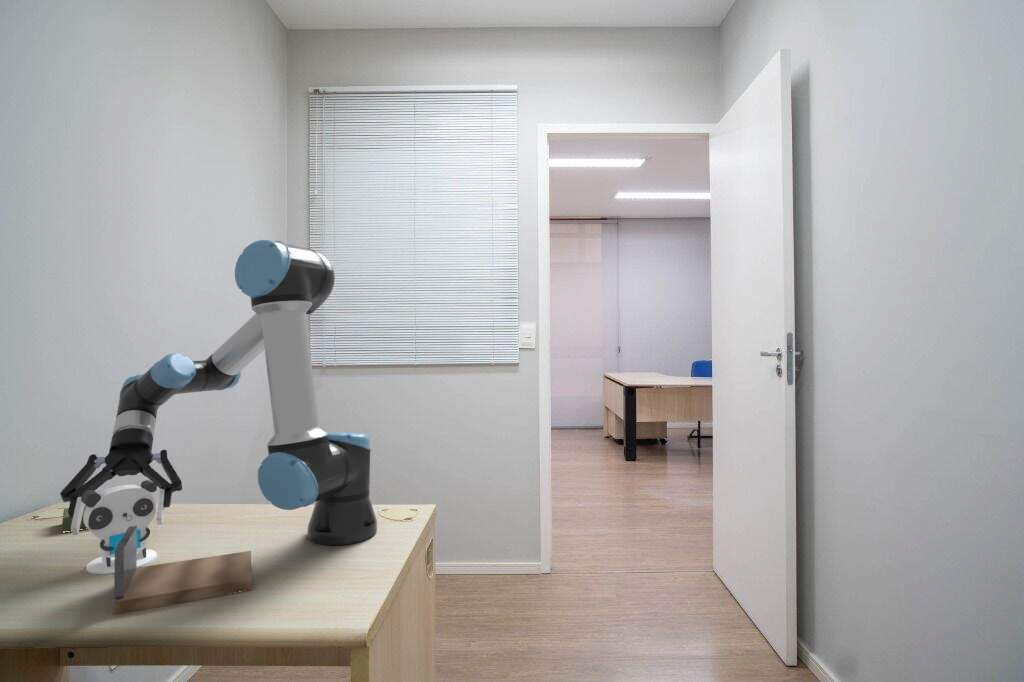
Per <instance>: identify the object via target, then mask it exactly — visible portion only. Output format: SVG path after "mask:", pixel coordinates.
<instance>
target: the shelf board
mask: <svg viewBox="0 0 1024 682" xmlns="http://www.w3.org/2000/svg"><path fill="white" fill-rule="evenodd" d="M252 568H253V567H252V550H248V551H247V550H246V551H239V552H234V553H228V554H227V553H226V554H220V555H213V556H206V557H205V556H204V557H200V558H199V557H198V558H193V559H185V560H178V561H173V562H165V563H159V564H152V565H145V566H142V567H138V568H137V569H136V572H135V574H134V576H133V578H132V580H131V583H130V585H129V587H128V589H127V591H126V593H125V596H124V598H121V599H115V600H113V602H112V616H113V615H120V614H124V613H125V614H126V613H130V612H136V611H140V610H141V611H142V610H147V609H152V608H153V609H154V608H159V607H160V608H161V607H164V606H165V607H166V606H170V605H174V604H175V605H177V604H182V603H186V602H192V601H198V600H203V599H204V598H205V599H210V598H215V597H214V596H216V597H220V596H219V595H222V596H226V595H225V594H227V595H230V594H229V593H233V594H235V593H234V592H239V591H244V590H250V591H252V590H253V576H252V575H253V573H252V572H253V571H252ZM251 589H252V590H251ZM244 592H245V591H244ZM239 593H240V592H239ZM209 597H210V598H209ZM205 599H204V600H205Z"/></svg>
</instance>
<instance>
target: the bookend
mask: <svg viewBox="0 0 1024 682" xmlns="http://www.w3.org/2000/svg"><path fill="white" fill-rule="evenodd" d="M136 569H137V526H131V527H128V529H127V531H126V532H125V534H124V536H123V537H122V539H121V541H120V542H119V544H118V546H117V547H116V549H115V573H114V582H113V583H114V585H113V586H114V591H113V592H114V597H113V599H114V600H115V599H121V598H124V596H125V593H126V591H127V589H128V587H129V585H130V583H131V580H132V578H133V576H134V574H135V572H136ZM114 600H113V601H114Z"/></svg>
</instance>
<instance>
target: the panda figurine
mask: <svg viewBox="0 0 1024 682" xmlns="http://www.w3.org/2000/svg"><path fill="white" fill-rule="evenodd" d="M157 490H158V486H156V484H155V483H153V482H152V481H151V480H150V479H147V480H145V479H144V480H143V481H141V482H140V485H138V484H124V485H123V484H121V485H117V486H112V487H109V488H107V489H105V490H102V491H100V492H99V493H98V492H96V490H95V491H94V490H88V491H86V492H85V493H84V494H83V495H82V497H81V501H82V502H83V503H84V504H85V505H86V506H87V508H86V510H85V513H84V518H83V521H84V524H85V526H86V527H87V528H88V529H87V530H89V532H90V533H92V535H94V536H95V537H97V538H98V539H99V547H100V554H101V555H100V556H99V557H97V558H95V559H93V560H91V561H89V563H87V564H86V567H85V570H86V572H88V573H89V574H93V575H110V574H111V575H113V574H115V549H116V547H117V546H118V544H119V542H120V541H121V539H122V537H123V536H124V534H125V532H126V531H127V529H128V527H131V526H137V568H138V567H144V566H148V565H149V564H150V563H152V562H154V561H155V560H156V559H157V557H158V553H157V551H155V550H153V549H147V546H146V545H147V544H146V541H147V540H146V539H148V537H149V536H150V535H151V530H150V528H149V527H148V526H150V525H151V523H152V521H153V520H154V518H155V515H156V513H157V504H156V501H155V498H154V496H153V494H152V493H154V492H157Z"/></svg>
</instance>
